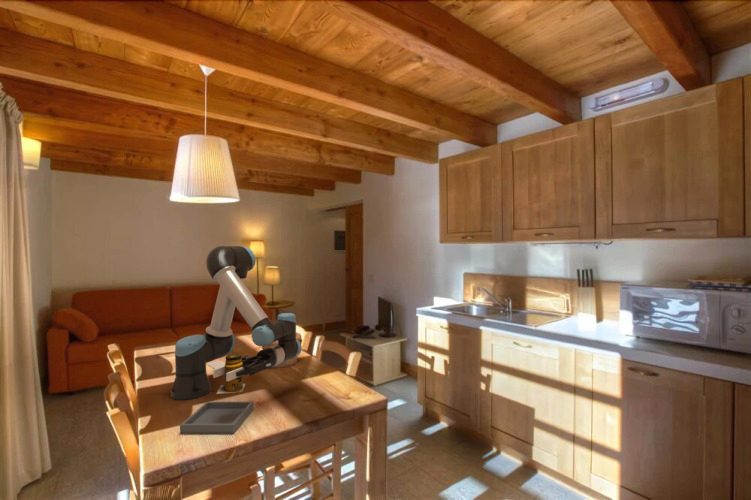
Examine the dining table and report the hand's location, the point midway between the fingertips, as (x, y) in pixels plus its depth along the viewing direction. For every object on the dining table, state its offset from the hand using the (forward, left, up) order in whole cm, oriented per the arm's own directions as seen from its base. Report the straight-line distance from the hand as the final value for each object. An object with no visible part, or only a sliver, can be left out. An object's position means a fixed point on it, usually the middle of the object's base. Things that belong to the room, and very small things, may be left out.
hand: (220, 375), depth 121 cm
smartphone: (-32, +65, -18) cm, 74 cm away
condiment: (+2, +5, -7) cm, 8 cm away
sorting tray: (-3, +4, -18) cm, 18 cm away
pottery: (0, +68, -18) cm, 71 cm away
